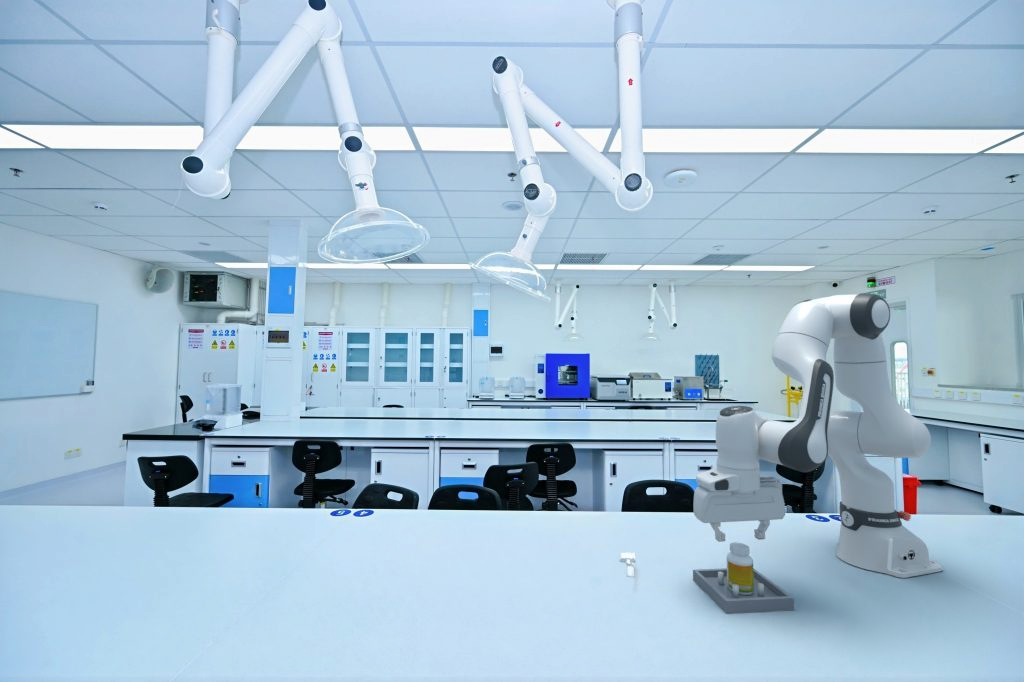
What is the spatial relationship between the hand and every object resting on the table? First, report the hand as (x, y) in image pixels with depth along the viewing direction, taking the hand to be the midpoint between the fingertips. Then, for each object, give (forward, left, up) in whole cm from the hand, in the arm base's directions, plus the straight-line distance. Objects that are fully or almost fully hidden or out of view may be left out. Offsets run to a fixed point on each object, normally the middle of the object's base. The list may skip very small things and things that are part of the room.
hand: (740, 539), depth 100 cm
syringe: (+21, -12, -13) cm, 28 cm away
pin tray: (0, 0, -12) cm, 12 cm away
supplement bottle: (0, 0, -11) cm, 11 cm away
